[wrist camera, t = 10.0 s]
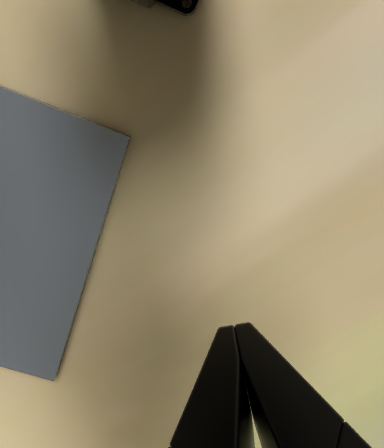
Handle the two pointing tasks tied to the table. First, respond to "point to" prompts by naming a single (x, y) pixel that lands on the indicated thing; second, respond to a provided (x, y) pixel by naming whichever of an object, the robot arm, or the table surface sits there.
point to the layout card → (48, 224)
